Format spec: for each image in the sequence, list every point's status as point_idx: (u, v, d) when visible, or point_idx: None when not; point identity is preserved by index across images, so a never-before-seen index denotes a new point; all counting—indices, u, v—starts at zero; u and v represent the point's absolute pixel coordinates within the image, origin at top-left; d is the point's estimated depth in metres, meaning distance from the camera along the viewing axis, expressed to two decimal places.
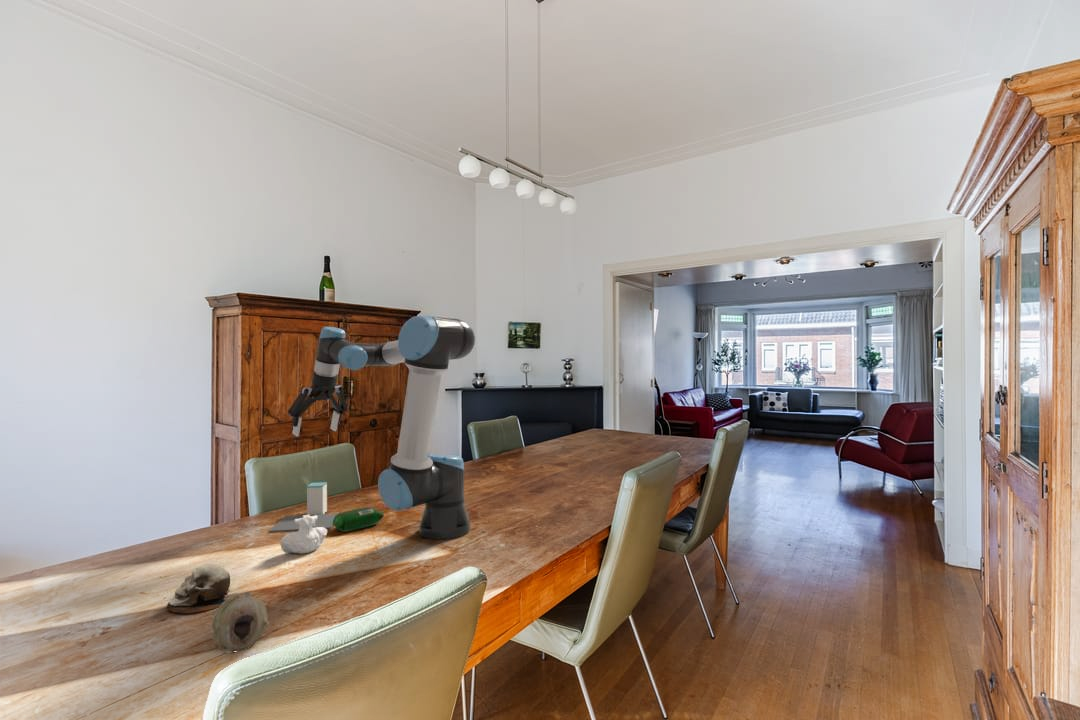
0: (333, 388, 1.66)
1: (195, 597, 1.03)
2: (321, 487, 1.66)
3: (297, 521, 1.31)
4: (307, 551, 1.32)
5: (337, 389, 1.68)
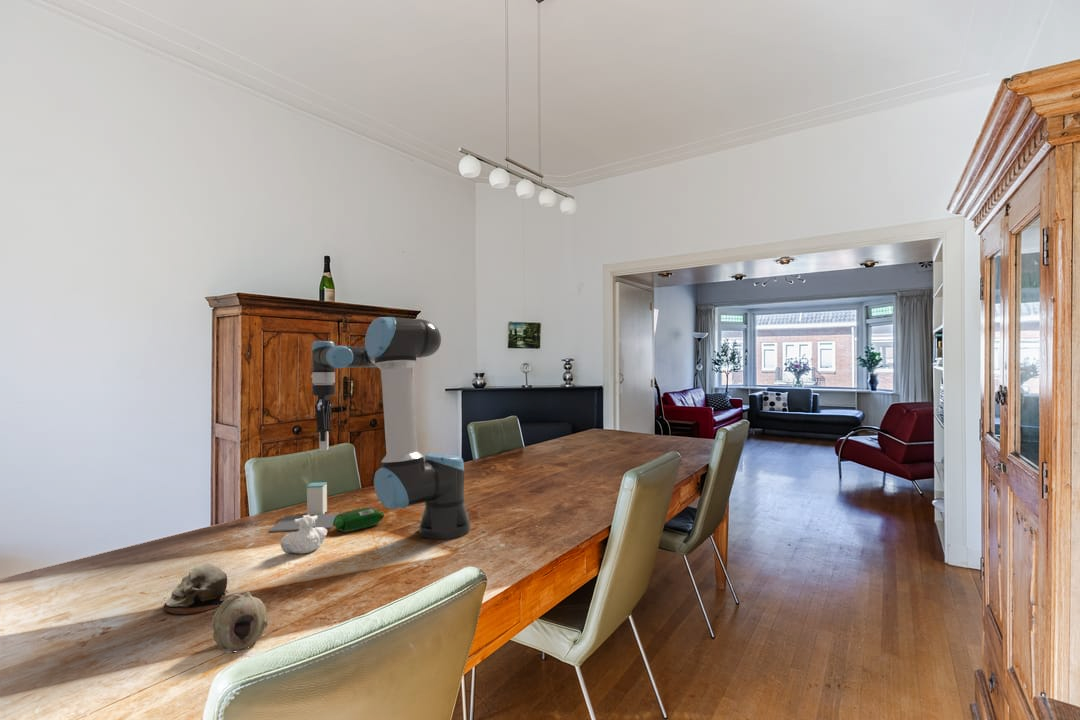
0: (329, 398, 1.80)
1: (191, 598, 1.03)
2: (321, 487, 1.66)
3: (297, 521, 1.31)
4: (307, 551, 1.32)
5: None
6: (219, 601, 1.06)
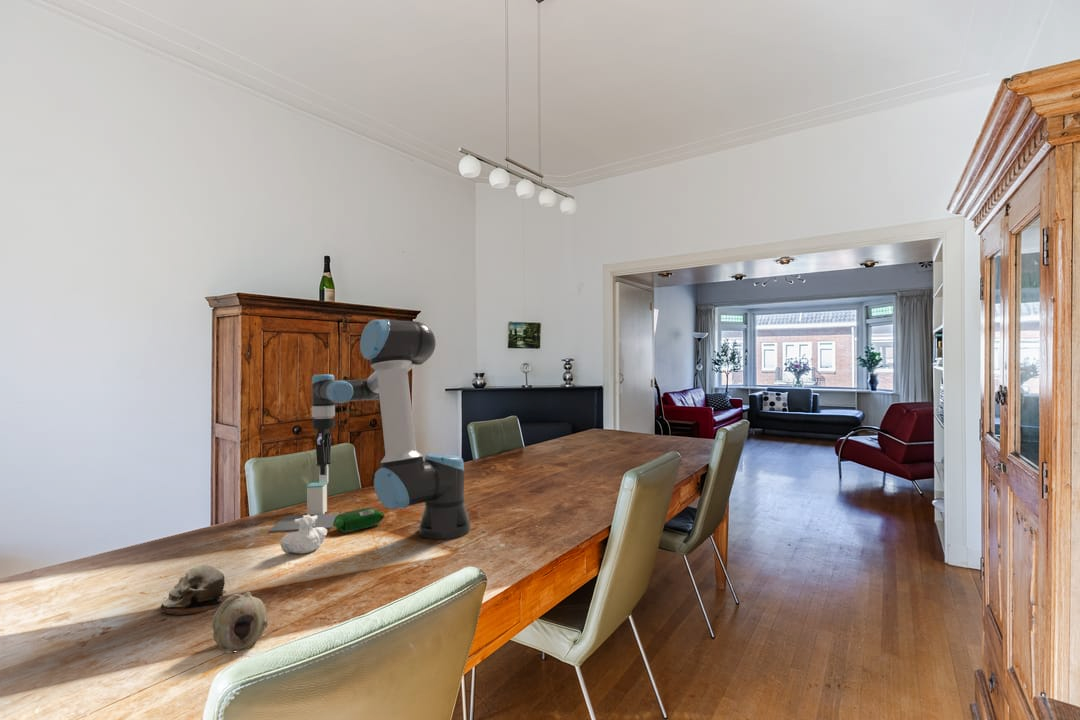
0: (329, 430, 1.80)
1: (189, 598, 1.03)
2: (321, 487, 1.66)
3: (297, 521, 1.31)
4: (307, 551, 1.32)
5: None
6: (216, 602, 1.06)
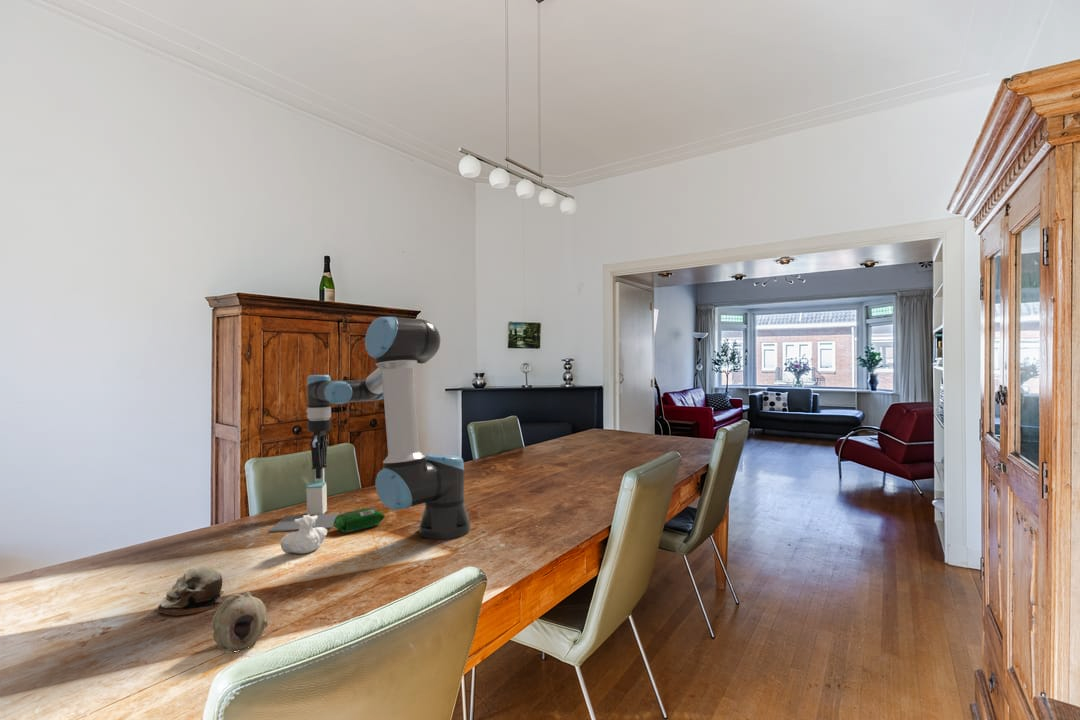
0: (325, 433, 1.75)
1: (186, 599, 1.02)
2: (320, 487, 1.65)
3: (297, 521, 1.31)
4: (307, 551, 1.32)
5: None
6: (214, 602, 1.05)
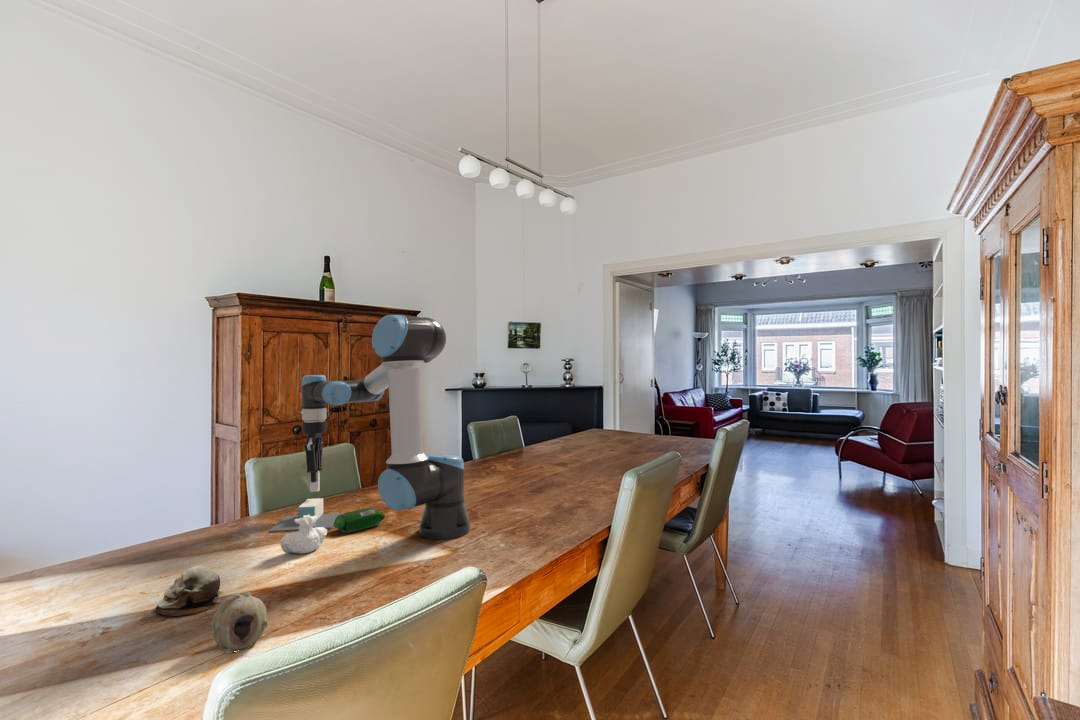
0: (320, 435, 1.69)
1: (184, 599, 1.02)
2: None
3: (297, 521, 1.31)
4: (307, 551, 1.32)
5: None
6: (212, 603, 1.05)
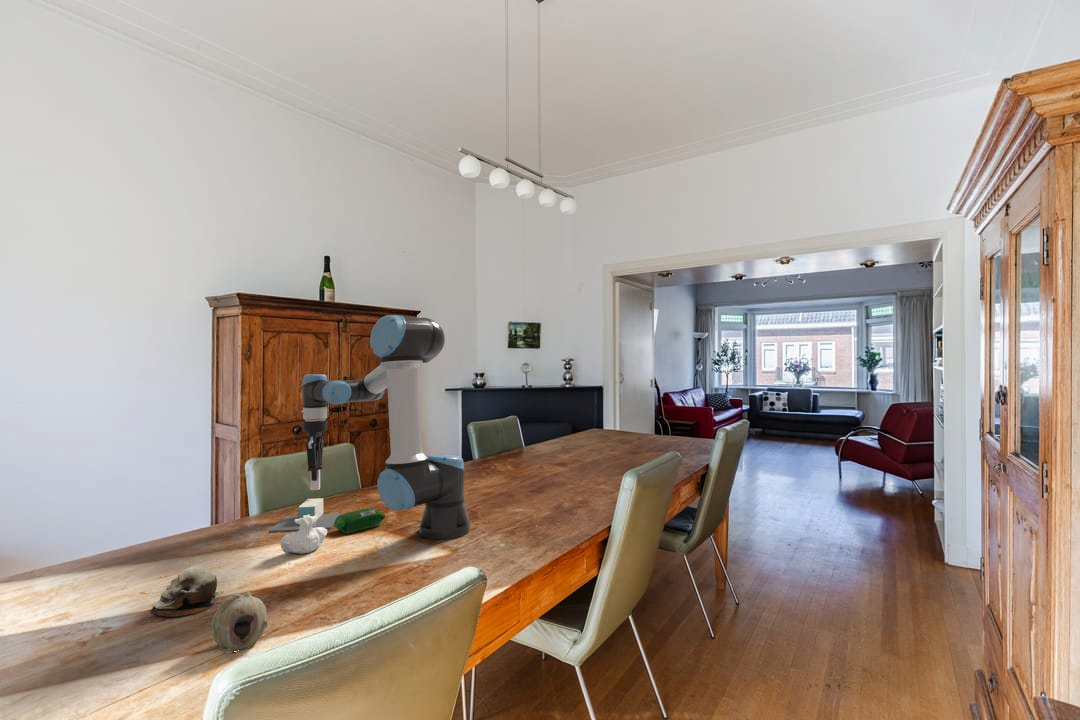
0: None
1: (180, 600, 1.02)
2: None
3: (297, 521, 1.31)
4: (307, 551, 1.32)
5: None
6: (208, 603, 1.05)
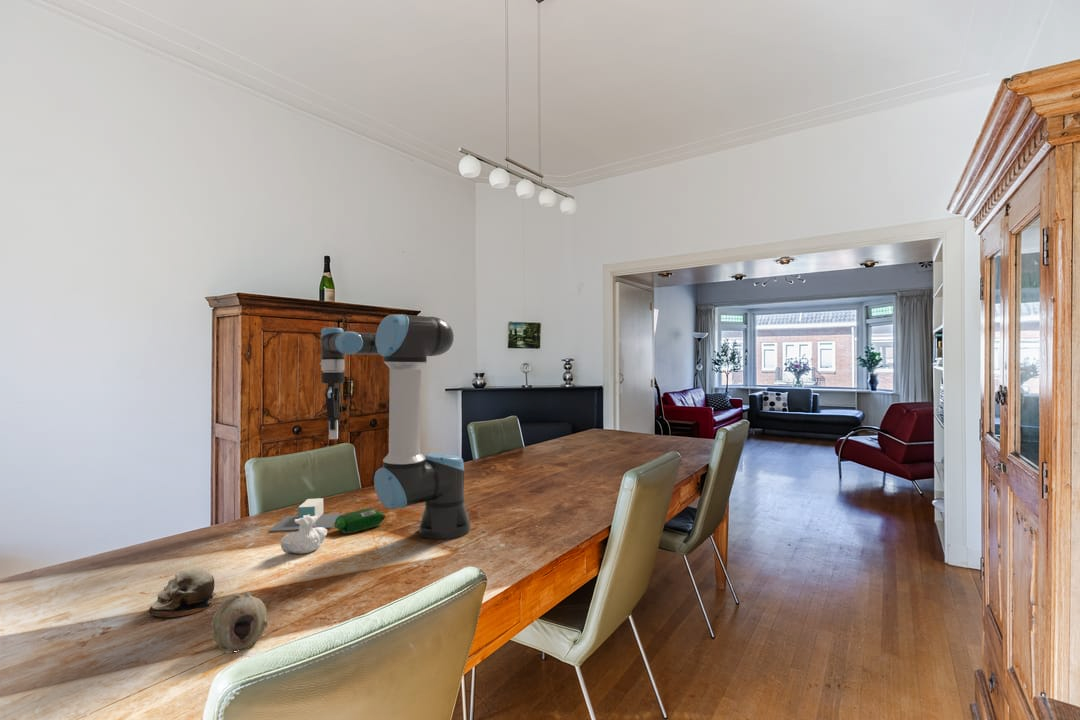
0: (338, 386, 1.77)
1: (178, 601, 1.02)
2: None
3: (297, 521, 1.31)
4: (307, 551, 1.32)
5: None
6: (206, 604, 1.05)
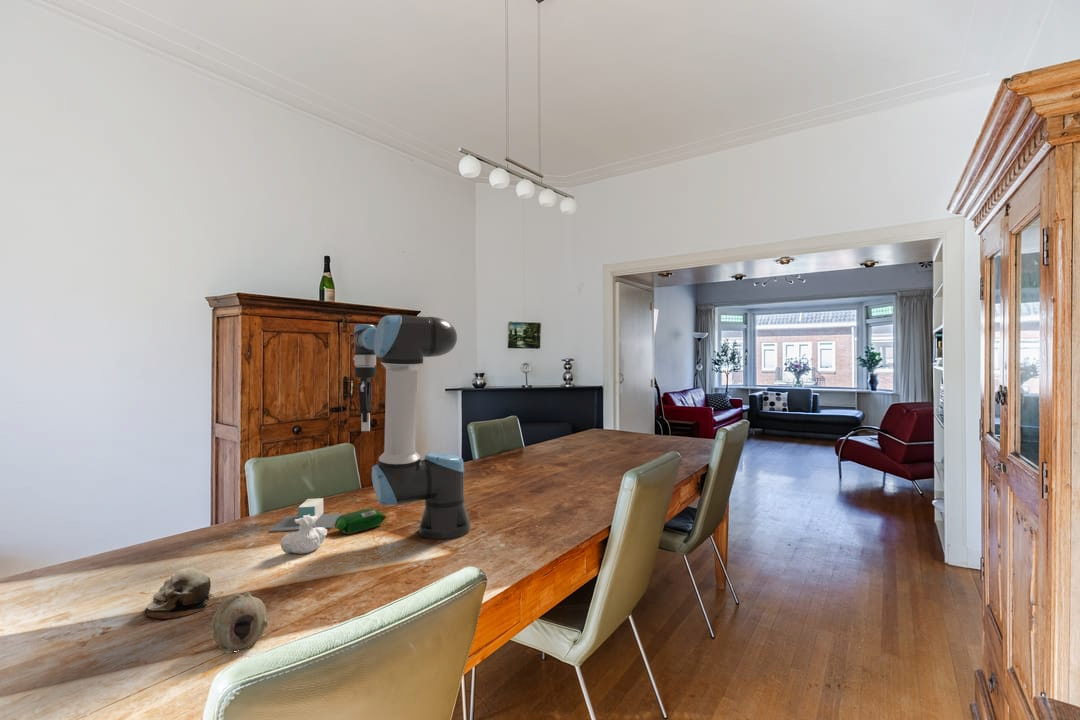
0: None
1: (173, 602, 1.01)
2: None
3: (297, 521, 1.31)
4: (307, 551, 1.32)
5: None
6: (202, 605, 1.04)
